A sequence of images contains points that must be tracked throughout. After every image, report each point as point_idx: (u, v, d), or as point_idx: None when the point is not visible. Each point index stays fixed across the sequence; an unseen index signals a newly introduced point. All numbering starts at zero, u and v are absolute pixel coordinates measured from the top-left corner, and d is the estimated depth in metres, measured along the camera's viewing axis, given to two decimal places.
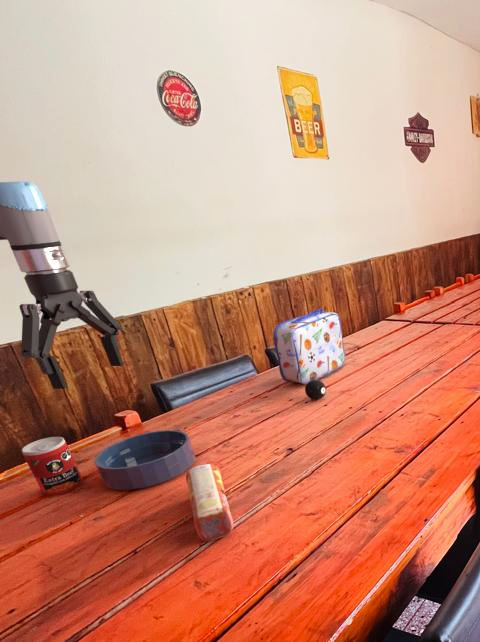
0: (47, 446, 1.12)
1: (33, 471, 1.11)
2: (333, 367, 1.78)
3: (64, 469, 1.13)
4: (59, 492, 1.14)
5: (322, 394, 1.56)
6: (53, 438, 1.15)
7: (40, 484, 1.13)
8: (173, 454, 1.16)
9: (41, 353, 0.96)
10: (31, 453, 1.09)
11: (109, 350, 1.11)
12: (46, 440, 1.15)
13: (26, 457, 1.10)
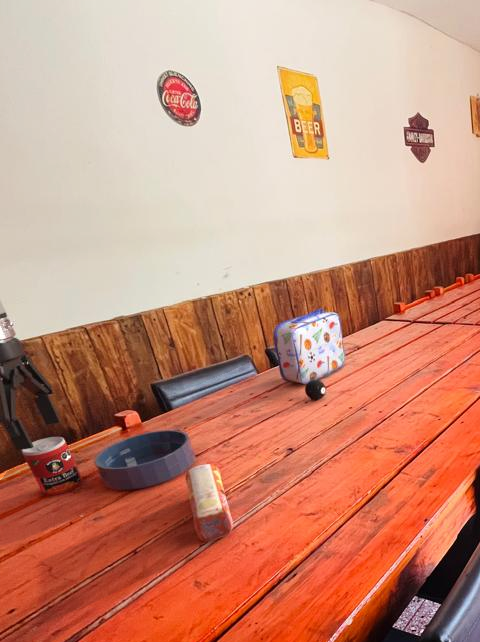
0: (47, 446, 1.12)
1: (33, 471, 1.11)
2: (333, 367, 1.78)
3: (64, 469, 1.13)
4: (59, 492, 1.14)
5: (322, 394, 1.56)
6: (53, 438, 1.15)
7: (40, 484, 1.13)
8: (173, 454, 1.16)
9: (10, 417, 1.02)
10: (31, 453, 1.09)
11: (45, 409, 1.16)
12: (46, 440, 1.15)
13: (26, 457, 1.10)
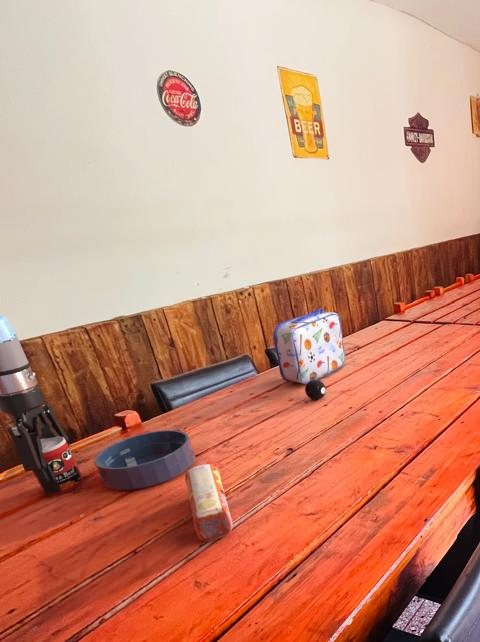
0: (48, 446, 1.12)
1: None
2: (333, 367, 1.78)
3: (65, 468, 1.14)
4: None
5: (322, 394, 1.56)
6: (53, 438, 1.16)
7: None
8: (173, 454, 1.16)
9: (41, 465, 1.09)
10: None
11: None
12: (46, 440, 1.15)
13: None
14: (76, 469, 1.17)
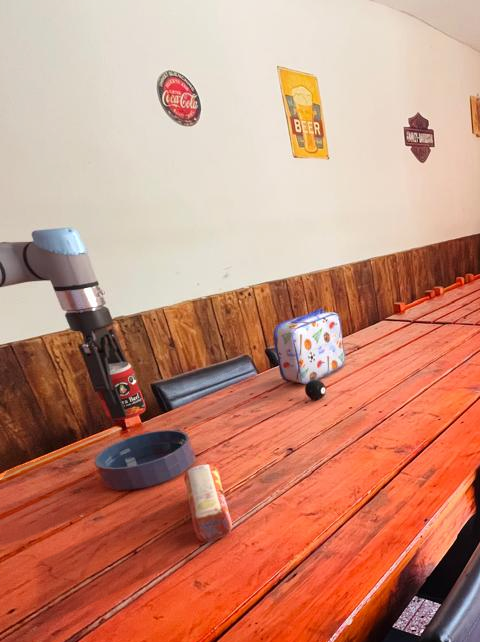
0: (114, 369, 1.10)
1: (100, 394, 1.09)
2: (333, 367, 1.78)
3: (130, 393, 1.12)
4: (125, 417, 1.12)
5: (322, 394, 1.56)
6: (118, 363, 1.14)
7: (107, 408, 1.11)
8: (173, 454, 1.16)
9: (109, 386, 1.07)
10: None
11: None
12: (111, 365, 1.13)
13: None
14: (140, 395, 1.15)
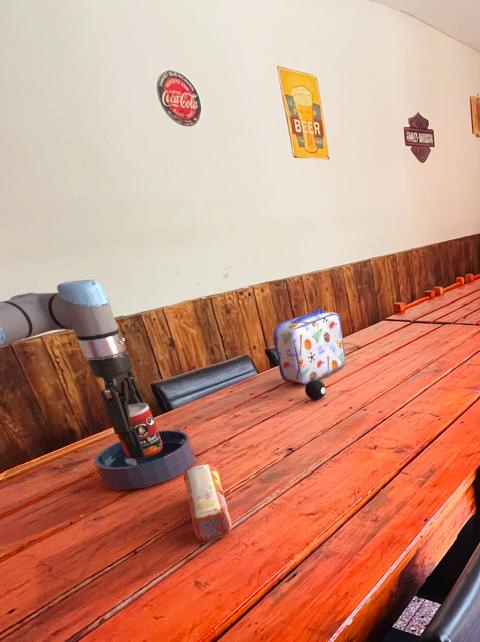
0: (133, 410, 1.15)
1: (120, 435, 1.14)
2: (333, 367, 1.78)
3: (148, 433, 1.16)
4: (144, 456, 1.17)
5: (322, 394, 1.56)
6: (136, 404, 1.18)
7: (126, 448, 1.15)
8: (173, 454, 1.16)
9: (129, 429, 1.12)
10: None
11: None
12: (129, 406, 1.18)
13: None
14: (157, 435, 1.19)
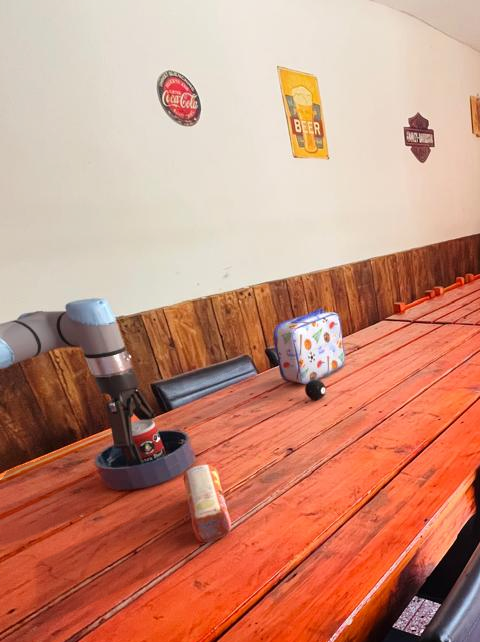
0: (139, 428, 1.17)
1: None
2: (333, 367, 1.78)
3: (155, 450, 1.18)
4: None
5: (322, 394, 1.56)
6: (142, 421, 1.20)
7: None
8: (173, 454, 1.16)
9: (129, 442, 1.10)
10: None
11: None
12: (136, 423, 1.19)
13: None
14: (163, 451, 1.21)
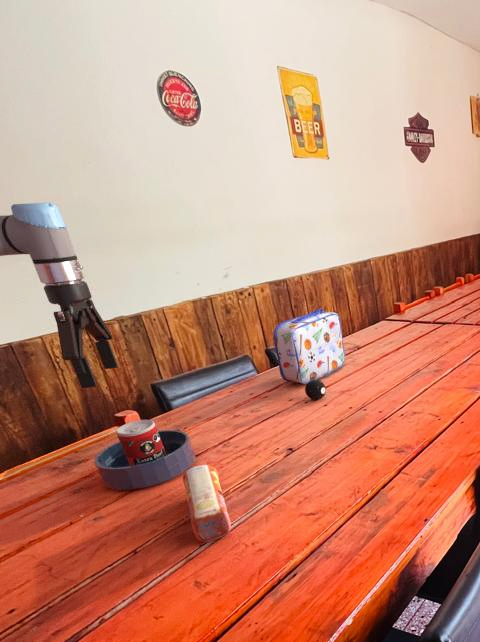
0: (139, 428, 1.17)
1: (127, 452, 1.16)
2: (333, 367, 1.78)
3: (155, 450, 1.18)
4: None
5: (322, 394, 1.56)
6: (142, 421, 1.20)
7: (132, 465, 1.17)
8: (173, 454, 1.16)
9: (79, 354, 1.07)
10: (127, 434, 1.14)
11: (105, 353, 1.21)
12: (136, 423, 1.19)
13: (121, 438, 1.14)
14: (163, 451, 1.21)
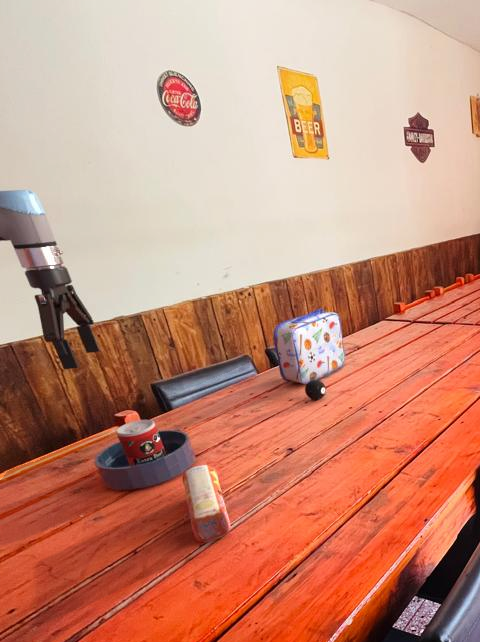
0: (139, 428, 1.17)
1: (127, 452, 1.16)
2: (333, 367, 1.78)
3: (155, 450, 1.18)
4: None
5: (322, 394, 1.56)
6: (142, 421, 1.20)
7: (132, 465, 1.17)
8: (173, 454, 1.16)
9: (60, 336, 1.12)
10: (127, 434, 1.14)
11: (86, 337, 1.26)
12: (136, 423, 1.19)
13: (121, 438, 1.14)
14: (163, 451, 1.21)
